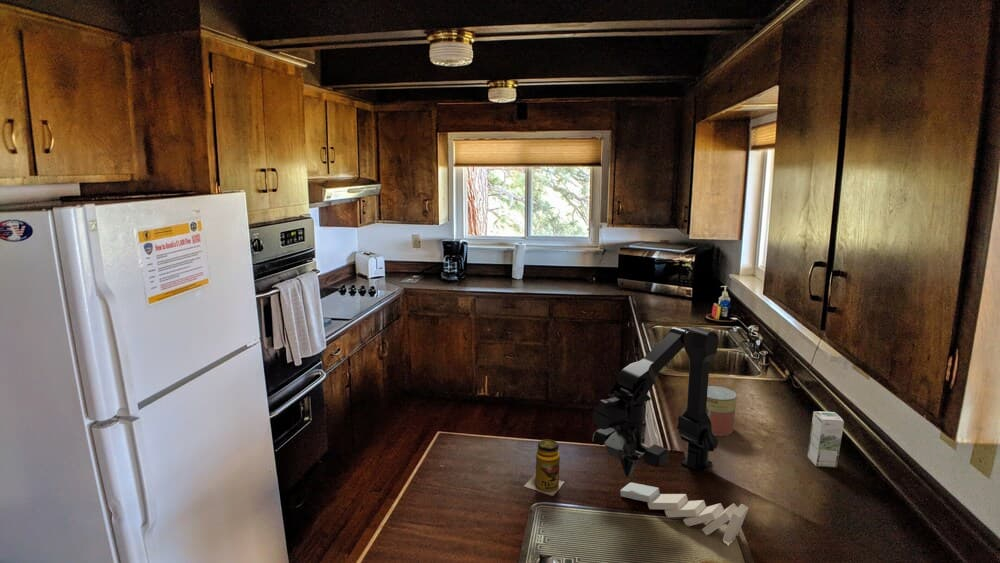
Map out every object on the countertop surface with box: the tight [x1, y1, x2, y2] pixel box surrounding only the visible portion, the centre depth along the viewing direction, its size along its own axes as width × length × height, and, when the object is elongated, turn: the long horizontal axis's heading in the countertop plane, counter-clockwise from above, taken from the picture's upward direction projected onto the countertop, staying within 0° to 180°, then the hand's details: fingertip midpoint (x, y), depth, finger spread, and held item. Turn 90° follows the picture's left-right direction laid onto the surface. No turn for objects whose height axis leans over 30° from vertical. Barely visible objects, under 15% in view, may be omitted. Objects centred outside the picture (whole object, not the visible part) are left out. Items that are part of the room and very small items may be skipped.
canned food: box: [706, 385, 738, 437], centre depth 178 cm, size 11×11×12 cm
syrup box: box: [807, 410, 845, 468], centre depth 157 cm, size 6×6×14 cm
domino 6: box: [721, 503, 749, 543], centre depth 123 cm, size 5×2×8 cm, turn 136°
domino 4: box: [683, 502, 725, 527], centre depth 128 cm, size 5×2×8 cm
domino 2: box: [647, 493, 689, 510], centre depth 135 cm, size 5×2×8 cm
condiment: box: [523, 438, 565, 497], centre depth 144 cm, size 7×8×12 cm
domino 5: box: [701, 503, 739, 535], centre depth 126 cm, size 5×2×8 cm
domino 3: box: [664, 499, 707, 518], centre depth 131 cm, size 5×2×8 cm
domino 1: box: [619, 482, 661, 503], centre depth 140 cm, size 5×2×8 cm
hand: (627, 476), depth 142 cm, fingers closed
